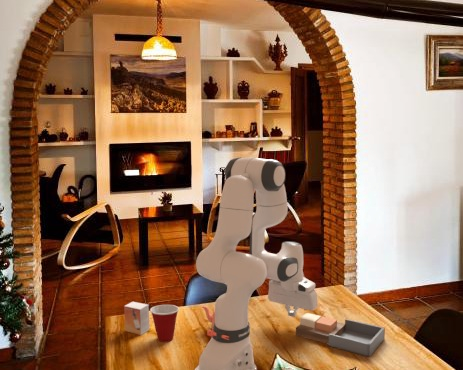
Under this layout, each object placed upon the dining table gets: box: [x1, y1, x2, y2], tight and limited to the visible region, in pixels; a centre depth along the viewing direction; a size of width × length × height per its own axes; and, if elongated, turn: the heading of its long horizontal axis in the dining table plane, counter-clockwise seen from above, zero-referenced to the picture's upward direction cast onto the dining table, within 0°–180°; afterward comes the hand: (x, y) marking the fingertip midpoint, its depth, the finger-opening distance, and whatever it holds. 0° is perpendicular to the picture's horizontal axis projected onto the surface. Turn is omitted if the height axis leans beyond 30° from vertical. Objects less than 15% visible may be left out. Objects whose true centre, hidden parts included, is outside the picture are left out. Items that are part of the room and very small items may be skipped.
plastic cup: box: [149, 304, 180, 343], centre depth 186 cm, size 11×11×12 cm
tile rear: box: [299, 312, 322, 328], centre depth 190 cm, size 6×6×2 cm
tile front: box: [316, 315, 338, 332], centre depth 187 cm, size 6×6×2 cm
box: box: [328, 318, 386, 358], centre depth 180 cm, size 16×15×4 cm
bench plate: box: [295, 321, 346, 345], centre depth 188 cm, size 13×14×3 cm
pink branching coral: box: [200, 305, 215, 331], centre depth 193 cm, size 12×18×10 cm, turn 81°
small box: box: [123, 301, 151, 336], centre depth 193 cm, size 8×6×10 cm
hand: (292, 316), depth 195 cm, fingers closed
